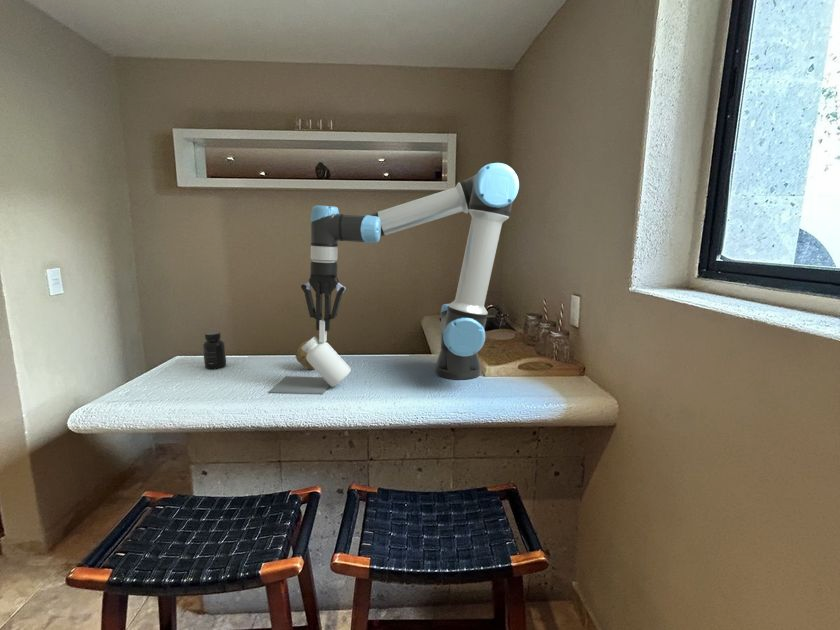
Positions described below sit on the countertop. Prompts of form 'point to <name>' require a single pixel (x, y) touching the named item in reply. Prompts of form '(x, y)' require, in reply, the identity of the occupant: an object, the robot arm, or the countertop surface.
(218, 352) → the supplement bottle
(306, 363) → the natural sponge
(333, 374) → the pill bottle
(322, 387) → the mat
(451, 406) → the countertop surface
